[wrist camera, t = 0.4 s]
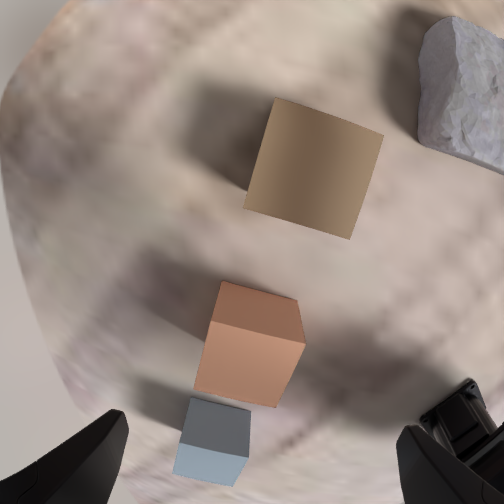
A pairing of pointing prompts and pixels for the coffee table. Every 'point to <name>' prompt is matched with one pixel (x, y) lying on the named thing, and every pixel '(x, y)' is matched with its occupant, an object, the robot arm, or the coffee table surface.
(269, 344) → the terracotta block
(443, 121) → the stone block
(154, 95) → the coffee table surface
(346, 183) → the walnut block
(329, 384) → the coffee table surface
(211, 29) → the coffee table surface
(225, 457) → the slate blue block
